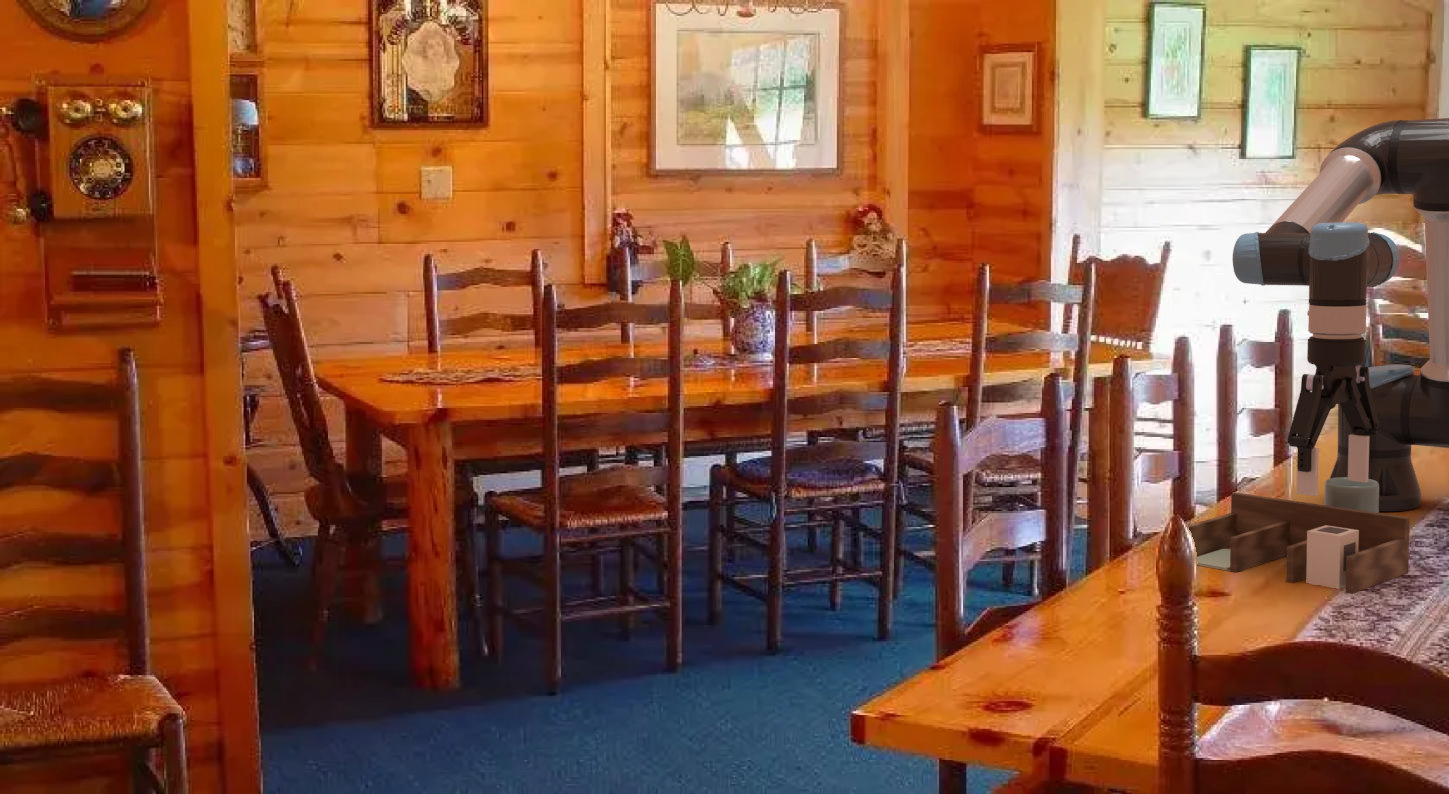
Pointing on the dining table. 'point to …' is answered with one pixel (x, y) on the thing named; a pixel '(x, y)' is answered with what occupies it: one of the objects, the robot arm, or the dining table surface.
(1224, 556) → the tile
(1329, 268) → the robot arm
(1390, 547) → the cubby
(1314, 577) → the white upright rectangular block
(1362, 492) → the cup
